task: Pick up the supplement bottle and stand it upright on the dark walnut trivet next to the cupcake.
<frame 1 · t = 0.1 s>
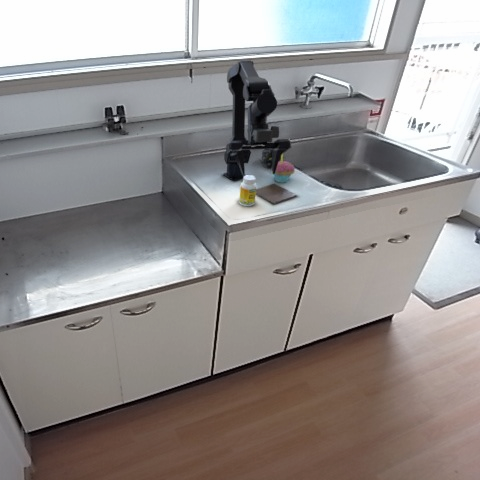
hand: (258, 174, 120), 15 cm above the worktop, tool tilted 30°, fingers open, 9 cm apart
trivet: (273, 194, 141), on the worktop
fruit: (270, 163, 164), on the worktop
supplement bottle: (246, 203, 136), on the worktop
cupcake: (280, 180, 151), on the worktop
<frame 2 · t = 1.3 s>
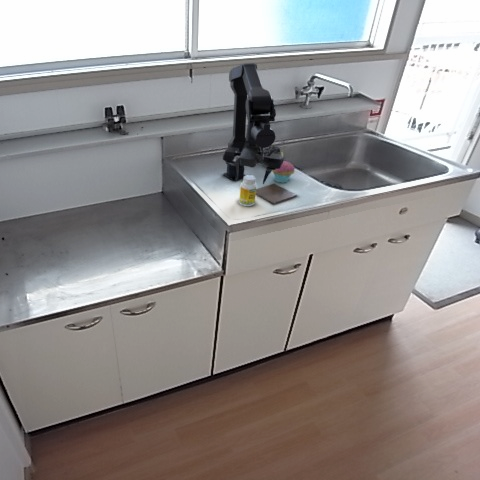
hand: (249, 181, 132), 8 cm above the worktop, tool pointing down, fingers open, 9 cm apart
nothing on the worktop moved.
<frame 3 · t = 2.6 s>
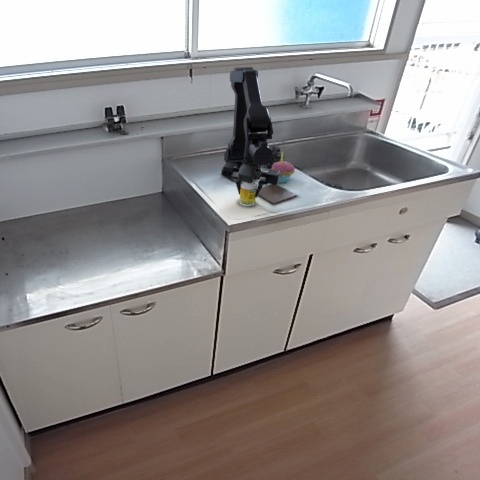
hand: (247, 195, 135), 3 cm above the worktop, tool pointing down, fingers closed on supplement bottle, 5 cm apart
supplement bottle: (246, 203, 136), on the worktop, touching gripper
everything else where it was.
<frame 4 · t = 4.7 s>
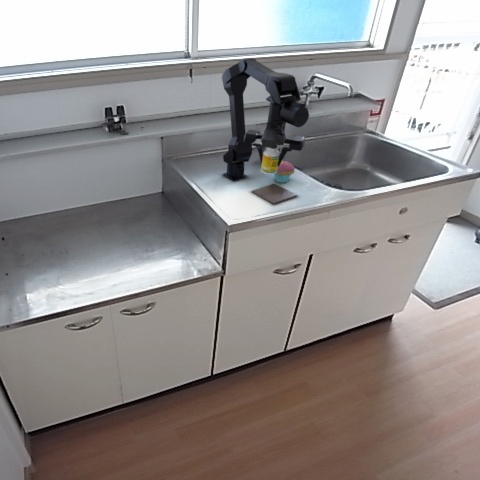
hand: (270, 164, 132), 12 cm above the worktop, tool pointing down, fingers closed on supplement bottle, 5 cm apart
supplement bottle: (268, 172, 133), point 10 cm above the worktop, touching gripper
everything else where it was.
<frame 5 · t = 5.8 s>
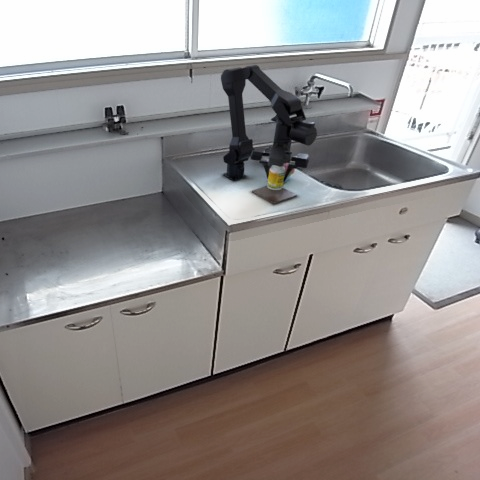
hand: (276, 180, 138), 6 cm above the worktop, tool pointing down, fingers closed on supplement bottle, 5 cm apart
supplement bottle: (274, 187, 139), point 3 cm above the worktop, touching gripper
everything else where it was.
when the fingers open (3 cm above the worktop, at t = 7.0 s): supplement bottle stays where it is, resting on trivet.
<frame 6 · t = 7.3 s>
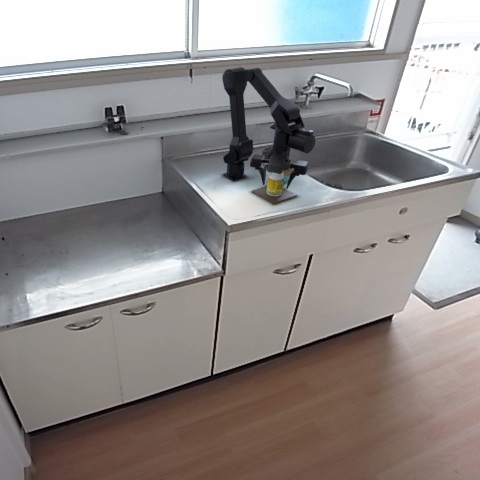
hand: (275, 186, 139), 3 cm above the worktop, tool pointing down, fingers open, 8 cm apart
supplement bottle: (273, 193, 140), resting on trivet
everything else where it was.
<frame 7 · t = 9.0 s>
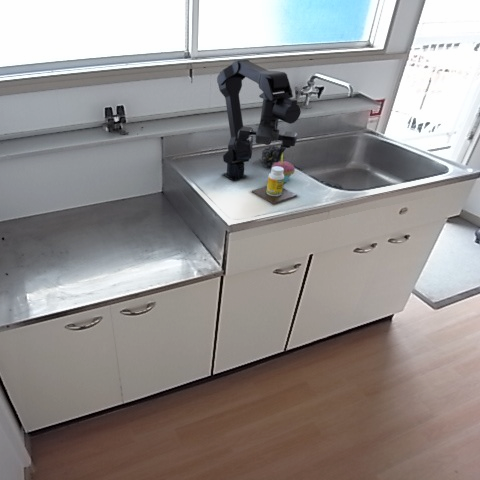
hand: (263, 160, 135), 13 cm above the worktop, tool pointing down, fingers open, 9 cm apart
nothing on the worktop moved.
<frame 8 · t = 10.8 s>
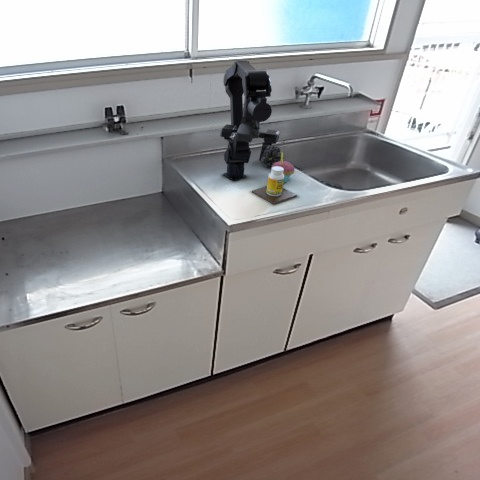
hand: (246, 158, 135), 13 cm above the worktop, tool pointing down, fingers open, 9 cm apart
nothing on the worktop moved.
at the end: supplement bottle 0.4 cm off-centre on the trivet, point 0.4 cm above the trivet's base; supplement bottle tilted 0°; supplement bottle 13.8 cm from the cupcake (horizontally) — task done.
